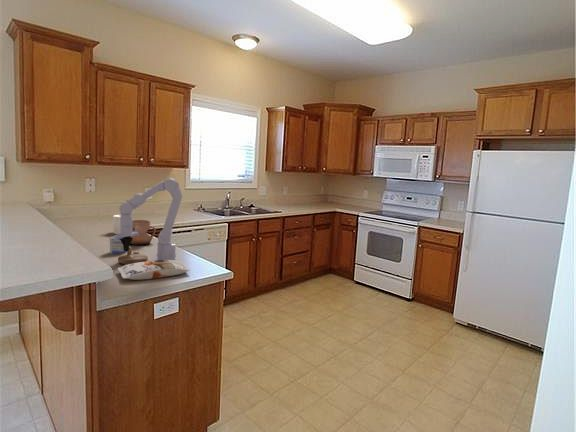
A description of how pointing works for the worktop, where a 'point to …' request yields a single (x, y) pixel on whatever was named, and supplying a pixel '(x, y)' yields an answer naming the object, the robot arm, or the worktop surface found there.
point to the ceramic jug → (141, 232)
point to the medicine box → (116, 246)
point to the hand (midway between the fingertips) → (126, 250)
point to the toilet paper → (116, 224)
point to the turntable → (132, 258)
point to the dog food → (152, 269)
